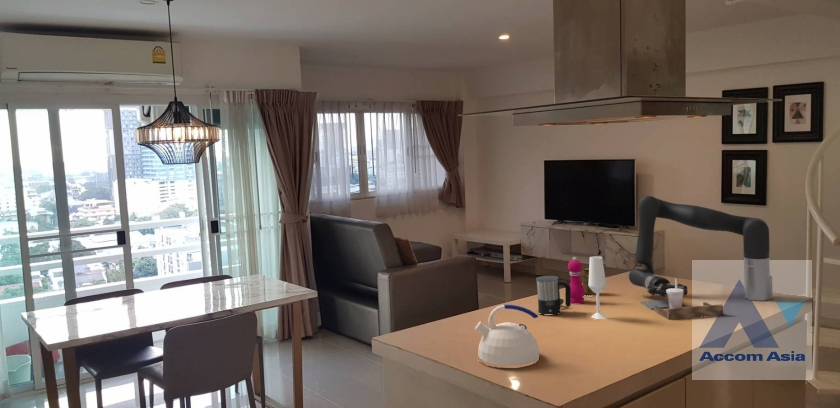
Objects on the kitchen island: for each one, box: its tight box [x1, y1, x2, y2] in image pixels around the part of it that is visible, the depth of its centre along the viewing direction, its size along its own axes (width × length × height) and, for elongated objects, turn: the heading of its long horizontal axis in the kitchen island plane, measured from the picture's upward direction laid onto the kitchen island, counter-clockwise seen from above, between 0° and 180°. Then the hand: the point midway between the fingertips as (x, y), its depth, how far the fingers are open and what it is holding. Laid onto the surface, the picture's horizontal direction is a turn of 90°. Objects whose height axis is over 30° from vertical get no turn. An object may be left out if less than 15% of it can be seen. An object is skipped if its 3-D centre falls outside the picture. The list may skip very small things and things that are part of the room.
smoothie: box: [666, 278, 684, 308], centre depth 232 cm, size 6×6×14 cm
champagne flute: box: [588, 255, 608, 320], centre depth 234 cm, size 7×7×24 cm
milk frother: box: [535, 275, 572, 315], centre depth 250 cm, size 14×16×15 cm
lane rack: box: [653, 301, 724, 321], centre depth 233 cm, size 21×13×4 cm, turn 92°
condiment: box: [581, 267, 601, 298], centre depth 273 cm, size 7×8×12 cm
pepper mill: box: [567, 256, 585, 304], centre depth 261 cm, size 7×7×20 cm
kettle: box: [474, 304, 541, 365], centre depth 195 cm, size 20×21×18 cm
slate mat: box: [640, 299, 669, 310], centre depth 247 cm, size 11×11×1 cm
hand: (675, 293), depth 231 cm, fingers open, 8 cm apart
